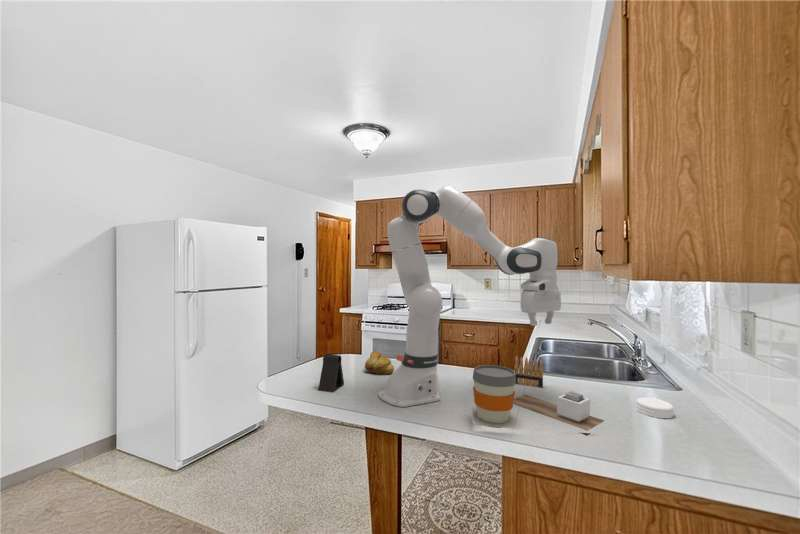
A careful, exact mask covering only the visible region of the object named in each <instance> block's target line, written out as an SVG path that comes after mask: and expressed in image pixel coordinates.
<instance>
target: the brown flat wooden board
mask: <svg viewBox="0 0 800 534" xmlns="http://www.w3.org/2000/svg"><path fill="white" fill-rule="evenodd" d="M564 394H565V399H568V400H571V401H575V402H581V401H583V397H584V394H583V393H578V392H574V391H569V392H566V393H564ZM513 405H515V406H518V407H520V408H523V409H527V410H529V411H532V412H535V413H538V414H540V415H543V416H545V417H549V418H551V419H554V420H557V421H560V422H562V423H565V424H568V425H570V426H573V427H576V428H579V429H582V430H585V431H591V429H594V428H595V427H596V426H598V425H600V424H601V423H603V422H604V421H605V420H604V419H600V418H598V417H596V416H591V415H590V416H588V417H587V418H585V419H583V420H581V421H576V420H574V419H571V418H568V417H565V416H562V415H559V414H557V404H555V403H552V402H549V401H545V400H543V399H540V398H537V397H534V396H530V395H527V394H524V395H521V396H518V397H514V401H513ZM580 434H581V435H584V436H586V437H588V436H590V435H591V434H592V433H591V432H590V433H589V432H580Z"/></svg>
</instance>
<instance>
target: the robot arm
mask: <svg viewBox="0 0 800 534" xmlns="http://www.w3.org/2000/svg"><path fill="white" fill-rule="evenodd" d="M401 209H402V213H401V214H400V216H398V217H395V218H393V219H392V220H390V222H389V223H387V227H386V230H387V238H388V244H389V247H390V251H391V255H392V257H393V261H394V263H395V264H394V265H395V266H396V270H397V273H398V274H397V275H398V278H399V283H400V286H401V290H402V293H403V297H404V301H405V304H406V305H407V307H408V311H409V312H408V318H407V319H408V320H407V326H406V334H405V335H406V337H405V338H406V339H405V340H406V341H405V351H404V355H401V354H397V355H396V361H398V362H401V363H400V365H399V366H398V367H397V368H396V370H395V369H394V371H393V372H392V373H390V375H389V376H388V377H387V379H386V382H385V387H384V390H380V391H378V398H380V400H382V401H383V402H385V403H387V404H390V405H392V406H394V407H395V406H397V407H401V408H405V407H412V406H416V405H417V406H418V405H422V404H429V403H435V402H438V401H441V391H440V387H439V378H438V377H439V376H438V368H437V366H438V364H439V363H438V361H439V357H438V356H439V355H438V352H437V351H438V350H437V349H438V331H439V325H440V319H441V311H442V307H443V297H442V294H441V293H440V292H439V290H438V289H437V288H435V287H434V286H433V285H432V281H431V276H430V272H429V263H428V260H427V258H426V257H427V256H426V254H425V251H424V247H423V244H422V241H421V238H420V234H419V227H420V226H421V225H423V224H424V223H425V222H427V221H428V220H430V219H431V218H432V217H433V216H438V217H440V218H442V219H444V220H445V221H446V222H447V223H448V224H450V225H451V226H452V227H453V228H454V229H456V230H457V231H458V232H460V233H461V234H463V235H465V236H466V237H468V238H470V239H472V240H473V241H475V243H476V244H478V246H480V247H481V248H482V249H483V250H485V252H486V253H488V254H489V255H490V256H491V257H492V259H493V260H494V262H495V264H496V266H497V268H498V269H499V270H500V272H501V273H503V274H505V275H508V276H512V275H524V274H528V273H529V278H528V279H527V280H525V281H524V282H522V283H521V284H520V290H522V291H521V293H520V311H521V312H522V313H525V314H527V317H528V319H529V325H530V326H531V327H536V326H538V320H537V319H536V316H537V313H546V317H545V318H544V323H545V324H546V325H551V324H552V322H553V318H554V315H555V312H557V311H558V312H559V311H560V310H561V308H562V298H561V292H560V289H559V287H558V286H557V282H558V281H557V279H558V276H557V266H558V259H559V257H558V245H557V243H556V242H555V241H554V240H553V239H550V238H546V237H534V238H533V239H531V240H530V241H528V242H525V243H523V244H521V245H518V246H512V247H511V246H509V245H506V244H505V243H503V241H501V239H500V238H498V237H497V236H496V235H495V234H494V233H493V232H492V231H491V230H490V229H489V228H488V227H489V226H488V224H487V217H486V214H485V212H484V211H483V210H482V208H481V207H480V206H479V205H478V204H477V203H476V202H475V201H474V200H472V199H471V198H470V197H469V196H467V195H466V194H465V193H463V192H462V191H460V189H457V188H455V187H454V186H452V185H449V184H448V185H444V186H442V187H440V188H438V189H437V190H436V191H435V192H434V191H429V190H424V189H413V190H411V191H409V192H407V194H405V196H404V197H403V199H402V202H401Z"/></svg>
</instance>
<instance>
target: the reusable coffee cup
mask: <svg viewBox="0 0 800 534" xmlns="http://www.w3.org/2000/svg"><path fill="white" fill-rule="evenodd" d="M472 380H473V384H474V385H473V387H472V389H473V398H474V401H473V402H474V404H475V407H476V415H477V417H478V418H479V419H480V420H482V421H485V422H489V423H494V424H495V423H496V424H499V423H500V424H501V423H505V422H508V421H509V420H510V417H511V410H512V409H513V407H514V404H513V401H514V399H515V394H516V393H515V386H516V385H517V384H516V374H515V372H514V369H511V368H509V367H504V366H501V365H491V364H489V365H488V364H486V365H485V364H483V365H478V366H475V367H474V368H473V371H472ZM487 427H490V428H495V429H496V428H498V429H499V428H500V429H501V428H502V426H493V425H492V426H491V425H490V426H489V425H488V426H487Z"/></svg>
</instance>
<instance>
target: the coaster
mask: <svg viewBox="0 0 800 534" xmlns="http://www.w3.org/2000/svg"><path fill="white" fill-rule="evenodd" d="M635 405H636V406H635V409H636V411H638V412H639V413H640V414H642V413H643V415H645V414H646V415H645V416H647V415H649V416H648V417H651V416H653V417H652V418H655V417H658V418H657V419H662V418H669V419H673V418H674V409H675V407H674V406H673V404H671V403H670V402H667V401H665V400H662V399H658V398H654V397H647V396H646V397H638V398H636V403H635Z"/></svg>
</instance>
